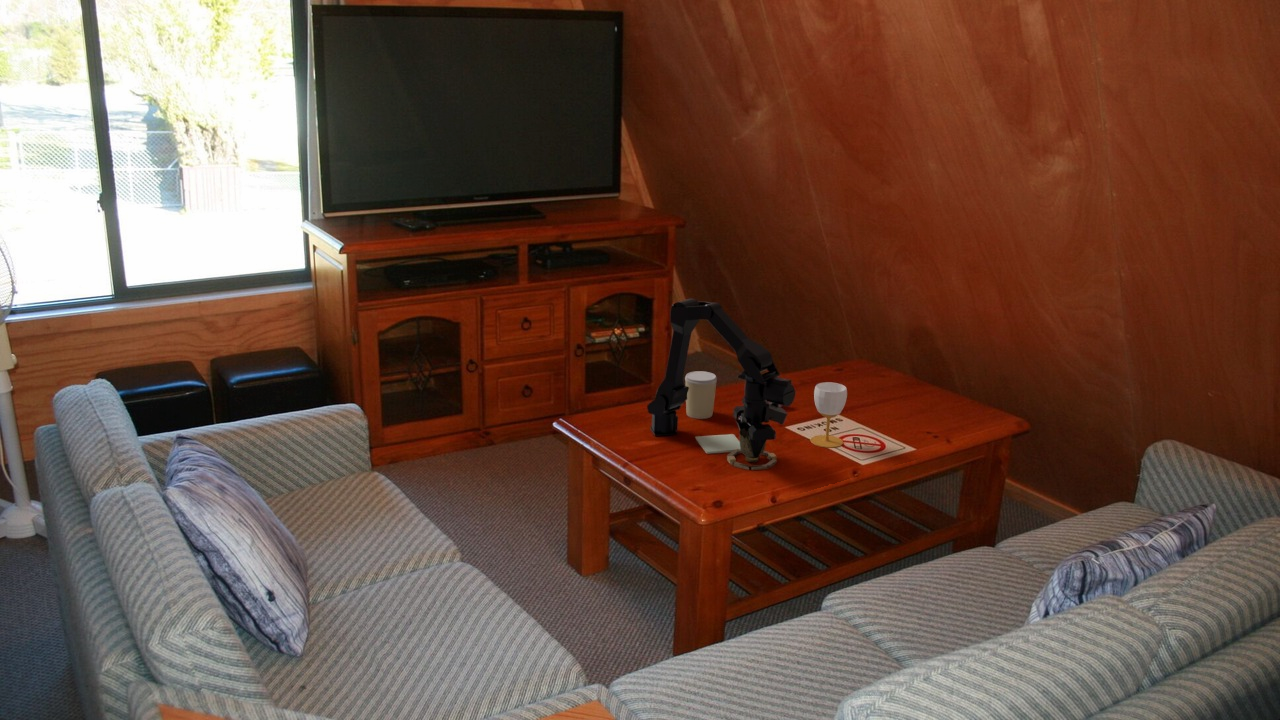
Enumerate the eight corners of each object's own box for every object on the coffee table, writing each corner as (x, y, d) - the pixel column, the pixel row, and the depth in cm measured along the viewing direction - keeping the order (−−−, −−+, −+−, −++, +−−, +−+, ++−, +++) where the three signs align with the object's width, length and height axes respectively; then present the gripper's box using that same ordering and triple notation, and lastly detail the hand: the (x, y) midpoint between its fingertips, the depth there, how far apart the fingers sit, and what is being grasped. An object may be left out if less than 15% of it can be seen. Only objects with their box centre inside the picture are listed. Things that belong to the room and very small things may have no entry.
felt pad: (706, 453, 280) (706, 451, 280) (695, 438, 291) (695, 436, 290) (745, 450, 283) (745, 448, 283) (733, 436, 293) (733, 434, 293)
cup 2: (835, 434, 296) (840, 381, 291) (848, 446, 287) (853, 391, 282) (805, 436, 294) (809, 382, 289) (817, 448, 285) (821, 393, 280)
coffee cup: (708, 407, 315) (709, 369, 311) (720, 418, 306) (721, 379, 303) (679, 410, 312) (680, 372, 308) (690, 421, 303) (691, 382, 300)
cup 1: (745, 467, 272) (747, 439, 270) (732, 457, 278) (734, 429, 276) (770, 463, 275) (772, 435, 272) (757, 453, 281) (759, 425, 279)
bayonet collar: (735, 471, 269) (736, 467, 269) (721, 453, 281) (721, 448, 281) (782, 467, 272) (783, 463, 272) (766, 449, 284) (766, 445, 283)
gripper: (796, 407, 264) (793, 464, 269) (773, 384, 282) (770, 438, 286) (754, 410, 262) (751, 467, 267) (733, 386, 279) (731, 440, 284)
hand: (752, 452), depth 276 cm, fingers closed on cup 1, 6 cm apart
